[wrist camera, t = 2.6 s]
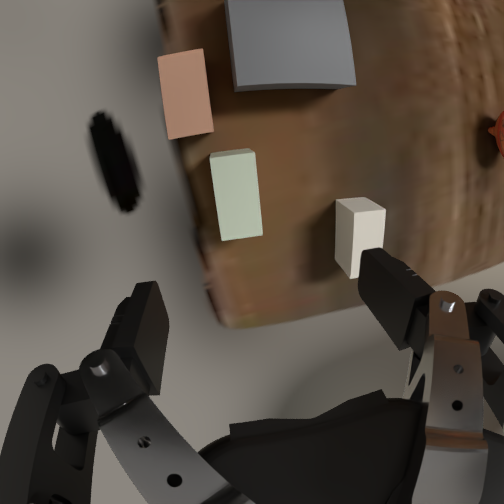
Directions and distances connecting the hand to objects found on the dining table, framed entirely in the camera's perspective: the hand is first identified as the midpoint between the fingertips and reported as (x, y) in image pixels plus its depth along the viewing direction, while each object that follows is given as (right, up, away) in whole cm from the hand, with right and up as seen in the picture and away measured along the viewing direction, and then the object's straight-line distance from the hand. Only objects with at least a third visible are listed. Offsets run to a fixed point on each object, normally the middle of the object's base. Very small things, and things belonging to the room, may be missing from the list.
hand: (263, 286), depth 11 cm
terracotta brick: (-6, +15, +11) cm, 20 cm away
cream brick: (+10, +4, +19) cm, 22 cm away
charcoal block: (+2, +21, +10) cm, 23 cm away
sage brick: (-2, +7, +16) cm, 18 cm away
